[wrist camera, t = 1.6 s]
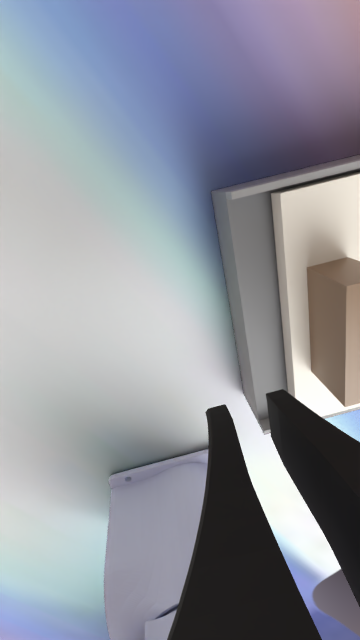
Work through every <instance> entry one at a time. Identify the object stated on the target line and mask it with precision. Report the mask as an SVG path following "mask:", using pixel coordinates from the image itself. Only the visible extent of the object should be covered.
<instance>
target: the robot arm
mask: <svg viewBox="0 0 360 640" xmlns="http://www.w3.org/2000/svg"><path fill="white" fill-rule="evenodd" d="M266 399H267V407H268V415H269V423H270V431H271V437H272V440H273V442H274V444H275V447H276V449H277V451H278V453H279V456H280V458H281V460H282V462H283V464H284V466H285V468H286V470H287V471H288V473H289V475H290V477H291V478H292V480H293V482H294V483H295V485H296V487H297V489H298V490H299V492H300V494H301V495H302V497H303V499H304V501H305V502H306V504H307V506H308V507H309V509H310V511H311V512H312V514H313V516H314V518H315V519H316V521H317V523H318V524H319V526H320V528H321V530H322V531H323V533H324V535H325V537H326V539H327V541H328V542H329V544H330V546H331V548H332V550H333V552H334V554H335V556H336V558H337V560H338V562H339V565H340V567H341V569H342V571H343V573H344V575H345V577H346V579H347V581H348V583H349V585H350V587H351V590H352V592H353V594H354V596H355V598H356V600H357V602H358V604H359V607H360V442H358V441H357V440H355V439H354V438H352V437H350V436H349V435H347V434H346V433H344V432H343V431H341V430H340V429H338V428H337V427H335V426H334V425H332V424H331V423H329V422H328V421H326V420H325V419H323V418H322V417H321V416H319V415H318V414H316V413H315V412H313V411H312V410H311V409H309V408H308V407H307V406H305V405H304V404H303V403H301V402H300V401H299V400H297V399H296V398H295V397H293V396H292V395H291V394H289V393H288V392H287V391H285V390H284V389H281V390H277V391H274V392H270V393H266ZM206 416H207V421H208V435H209V446H208V449H206V450H202V451H198V452H195V453H191V454H187V455H184V456H180V457H176V458H172V459H169V460H165V461H161V462H157V463H154V464H150V465H146V466H142V467H139V468H135V469H131V470H127V471H124V472H120V473H116V474H113V475H111V476H110V477H109V485H110V487H111V500H110V511H109V523H108V534H107V545H106V557H105V568H104V602H105V614H106V622H107V627H108V632H109V636H110V639H111V640H322V639H321V637H320V635H319V632H318V630H317V628H316V626H315V624H314V622H313V620H312V618H311V615H310V613H309V611H308V609H307V607H306V605H305V603H304V601H303V598H302V596H301V594H300V592H299V590H298V588H297V586H296V583H295V581H294V579H293V577H292V574H291V572H290V570H289V568H288V566H287V563H286V561H285V559H284V557H283V555H282V552H281V550H280V548H279V546H278V543H277V541H276V539H275V537H274V534H273V532H272V530H271V527H270V525H269V523H268V520H267V518H266V516H265V514H264V511H263V509H262V506H261V504H260V502H259V499H258V497H257V495H256V492H255V490H254V488H253V485H252V482H251V479H250V477H249V474H248V471H247V467H246V464H245V460H244V457H243V453H242V450H241V447H240V443H239V440H238V436H237V433H236V429H235V426H234V422H233V419H232V417H231V415H230V413H229V411H228V409H227V407H226V405H225V404H224V405H221V406H217V407H213V408H209V409H208V410H207V411H206Z"/></svg>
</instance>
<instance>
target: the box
mask: <svg viewBox="0 0 360 640" xmlns="http://www.w3.org/2000/svg"><path fill="white" fill-rule="evenodd" d="M359 171H360V155H355V156H351V157H347V158H343V159H339V160H335V161H331V162H327V163H323V164H319V165H315V166H311V167H307V168H303V169H299V170H294V171H290V172H286V173H282V174H278V175H274V176H270V177H266V178H262V179H258V180H254V181H250V182H246V183H242V184H238V185H233V186H229V187H225V188H221V189H217V190H213V191H211V195H212V201H213V207H214V213H215V220H216V226H217V232H218V238H219V244H220V250H221V256H222V262H223V269H224V275H225V281H226V287H227V293H228V299H229V305H230V311H231V317H232V324H233V330H234V336H235V342H236V348H237V354H238V360H239V366H240V373H241V379H242V385H243V391H244V396H245V398H246V400H247V402H248V403H249V405H250V407H251V409H252V411H253V413H254V415H255V417H256V419H257V421H258V423H259V425H260V427H261V429H262V431H263V433H264V435H265V434H269V433H271V431H270V423H269V415H268V407H267V399H266V393H270V392H274V391H277V390H281V389H284V390H285V391H287V392H288V386H287V374H286V363H285V351H284V339H283V328H282V316H281V304H280V293H279V281H278V270H277V258H276V246H275V235H274V223H273V211H272V200H271V193H274V192H278V191H282V190H286V189H290V188H294V187H298V186H302V185H306V184H310V183H314V182H318V181H322V180H326V179H330V178H334V177H338V176H342V175H346V174H350V173H354V172H359ZM359 409H360V407H356V408H352V409H348V410H345V411H341V412H337V413H333V414H330V415H326V416H322V418H323V419H325V418H329V417H333V416H336V415H340V414H344V413H347V412H351V411H355V410H359Z"/></svg>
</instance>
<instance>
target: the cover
mask: <svg viewBox="0 0 360 640" xmlns="http://www.w3.org/2000/svg"><path fill="white" fill-rule="evenodd" d="M271 200H272V211H273V223H274V235H275V246H276V258H277V270H278V281H279V293H280V304H281V316H282V328H283V339H284V351H285V363H286V374H287V386H288V393H289V394H291V395H292V396H293V397H295V398H296V399H297V400H299V401H300V402H301V403H303V404H304V405H305V406H307V407H308V408H309V409H311V410H312V411H313V412H315V413H316V414H318V415H319V416H321V417H322V416H326V415H330V414H333V413H337V412H341V411H345V410H348V409H352V408H356V407H360V171H359V172H354V173H350V174H346V175H342V176H338V177H334V178H330V179H326V180H322V181H318V182H314V183H310V184H306V185H302V186H298V187H294V188H290V189H286V190H282V191H278V192H274V193H271Z"/></svg>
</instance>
